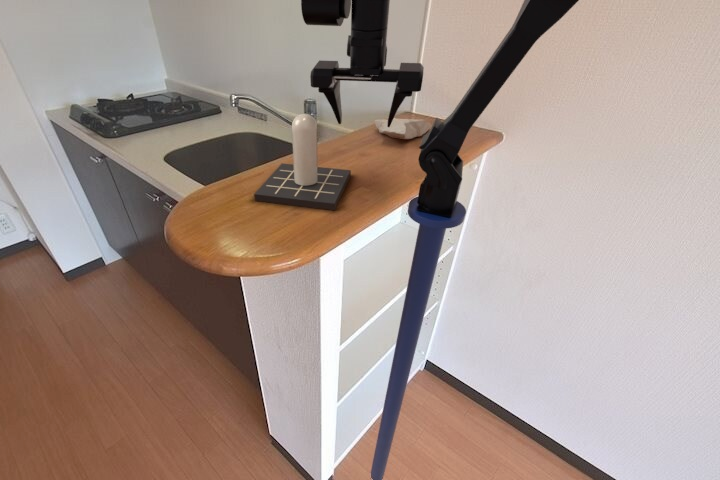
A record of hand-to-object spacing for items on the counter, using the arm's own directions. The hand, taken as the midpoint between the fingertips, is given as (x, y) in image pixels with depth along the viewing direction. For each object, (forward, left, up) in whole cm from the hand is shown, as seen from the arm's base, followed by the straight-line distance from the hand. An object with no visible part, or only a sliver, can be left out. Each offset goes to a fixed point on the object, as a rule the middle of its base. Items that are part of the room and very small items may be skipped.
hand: (364, 124), depth 67 cm
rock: (+4, -36, -13) cm, 38 cm away
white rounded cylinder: (+10, +6, -11) cm, 16 cm away
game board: (+10, +6, -12) cm, 17 cm away
